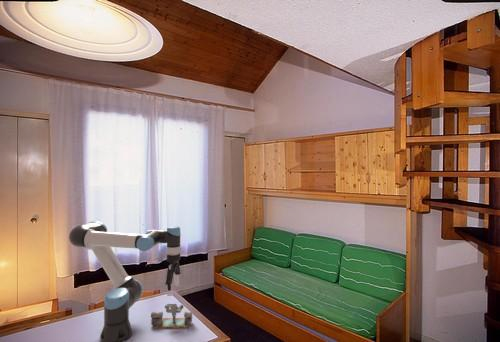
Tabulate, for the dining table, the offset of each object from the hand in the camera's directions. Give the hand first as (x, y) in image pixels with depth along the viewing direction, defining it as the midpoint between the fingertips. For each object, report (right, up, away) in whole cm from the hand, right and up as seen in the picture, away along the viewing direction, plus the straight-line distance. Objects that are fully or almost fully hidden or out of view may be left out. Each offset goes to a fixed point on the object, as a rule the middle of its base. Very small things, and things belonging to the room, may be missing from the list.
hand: (173, 290), depth 154 cm
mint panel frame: (0, -19, 0) cm, 19 cm away
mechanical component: (+1, -18, -1) cm, 18 cm away
